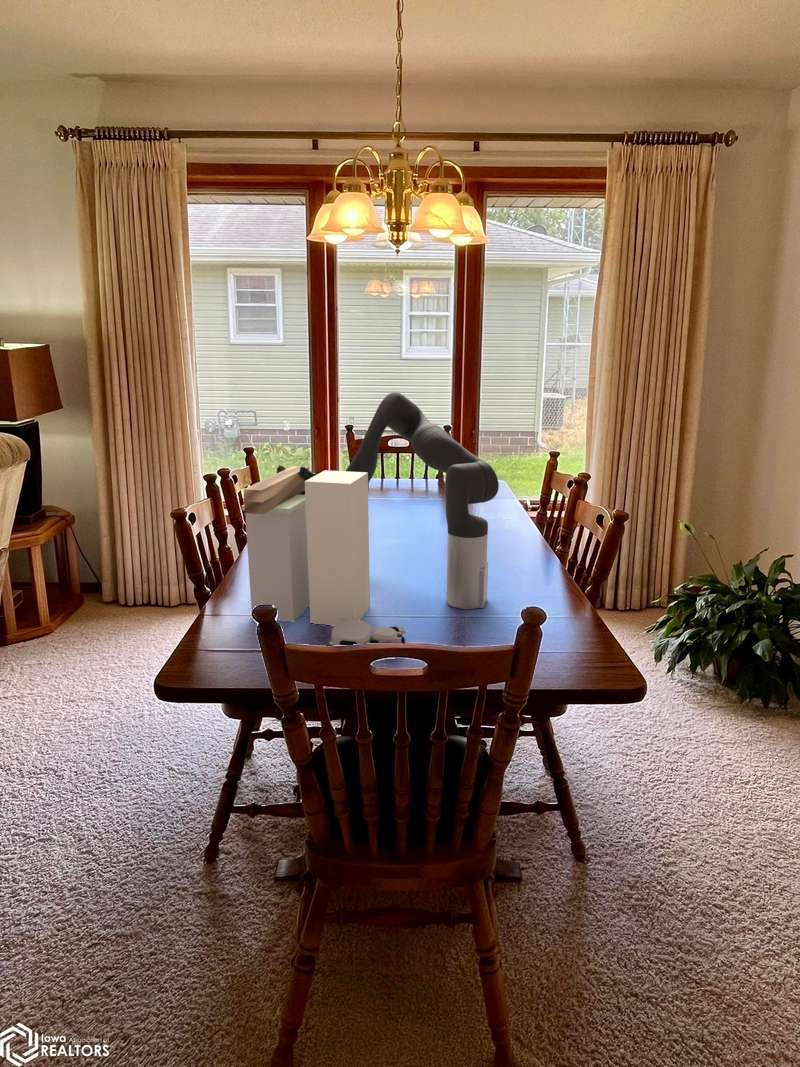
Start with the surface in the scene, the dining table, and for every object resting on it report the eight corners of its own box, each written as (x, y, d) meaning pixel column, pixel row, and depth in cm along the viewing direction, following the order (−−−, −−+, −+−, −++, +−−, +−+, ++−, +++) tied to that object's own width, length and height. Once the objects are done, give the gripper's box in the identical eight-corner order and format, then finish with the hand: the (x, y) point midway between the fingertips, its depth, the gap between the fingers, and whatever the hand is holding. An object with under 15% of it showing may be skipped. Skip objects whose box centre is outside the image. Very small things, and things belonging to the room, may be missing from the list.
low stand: (316, 601, 170) (312, 495, 162) (294, 623, 158) (289, 508, 150) (273, 597, 172) (267, 492, 165) (249, 618, 160) (241, 505, 153)
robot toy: (406, 640, 151) (335, 633, 152) (407, 621, 150) (336, 614, 151) (401, 667, 139) (325, 659, 140) (403, 646, 138) (326, 638, 139)
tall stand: (369, 608, 166) (367, 472, 157) (353, 628, 155) (350, 483, 146) (329, 604, 168) (324, 470, 159) (310, 623, 157) (304, 481, 148)
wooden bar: (309, 487, 170) (308, 466, 169) (262, 514, 146) (261, 490, 145) (294, 486, 171) (293, 465, 170) (244, 513, 147) (243, 489, 146)
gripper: (290, 476, 182) (264, 453, 166) (344, 479, 178) (322, 455, 162) (286, 504, 180) (258, 484, 164) (340, 508, 177) (317, 487, 161)
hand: (290, 470), depth 163 cm, fingers open, 4 cm apart
